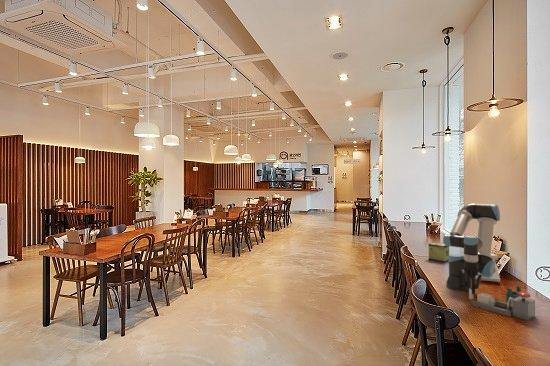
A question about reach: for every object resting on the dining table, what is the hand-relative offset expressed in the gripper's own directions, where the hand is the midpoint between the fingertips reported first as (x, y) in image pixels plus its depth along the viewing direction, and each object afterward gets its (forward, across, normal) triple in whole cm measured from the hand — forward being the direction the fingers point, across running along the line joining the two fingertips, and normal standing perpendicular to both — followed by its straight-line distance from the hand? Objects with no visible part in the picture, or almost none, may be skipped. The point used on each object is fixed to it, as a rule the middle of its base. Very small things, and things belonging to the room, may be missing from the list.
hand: (471, 298), depth 191 cm
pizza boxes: (+2, -18, +59) cm, 62 cm away
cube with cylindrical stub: (+2, +8, 0) cm, 8 cm away
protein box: (+1, -67, +85) cm, 108 cm away
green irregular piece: (+2, +15, +21) cm, 26 cm away
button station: (+2, +25, 0) cm, 25 cm away
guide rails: (+2, +13, 0) cm, 13 cm away
